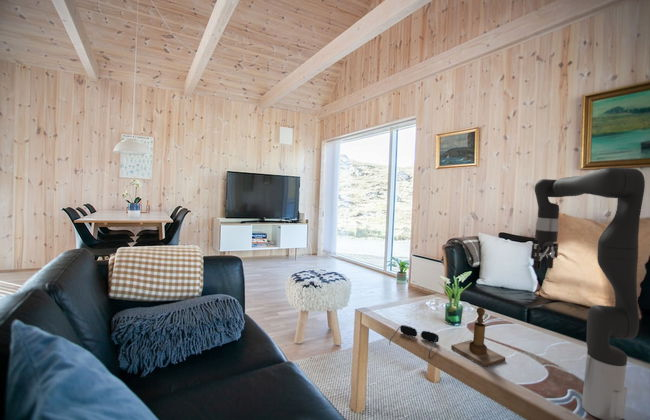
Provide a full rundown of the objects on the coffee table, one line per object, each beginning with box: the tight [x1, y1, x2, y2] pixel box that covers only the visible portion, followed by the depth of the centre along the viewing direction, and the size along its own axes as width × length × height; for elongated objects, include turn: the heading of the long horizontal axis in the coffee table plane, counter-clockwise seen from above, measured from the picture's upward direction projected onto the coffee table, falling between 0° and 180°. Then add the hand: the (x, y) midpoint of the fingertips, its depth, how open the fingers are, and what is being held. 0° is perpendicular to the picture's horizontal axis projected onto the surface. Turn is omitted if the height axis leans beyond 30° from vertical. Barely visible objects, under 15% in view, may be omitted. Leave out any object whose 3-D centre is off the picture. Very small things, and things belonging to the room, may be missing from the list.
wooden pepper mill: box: [469, 307, 488, 355], centre depth 135 cm, size 7×6×18 cm
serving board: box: [450, 339, 506, 368], centre depth 135 cm, size 16×12×2 cm
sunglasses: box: [388, 324, 440, 358], centre depth 142 cm, size 17×15×5 cm
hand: (543, 268), depth 135 cm, fingers open, 8 cm apart
